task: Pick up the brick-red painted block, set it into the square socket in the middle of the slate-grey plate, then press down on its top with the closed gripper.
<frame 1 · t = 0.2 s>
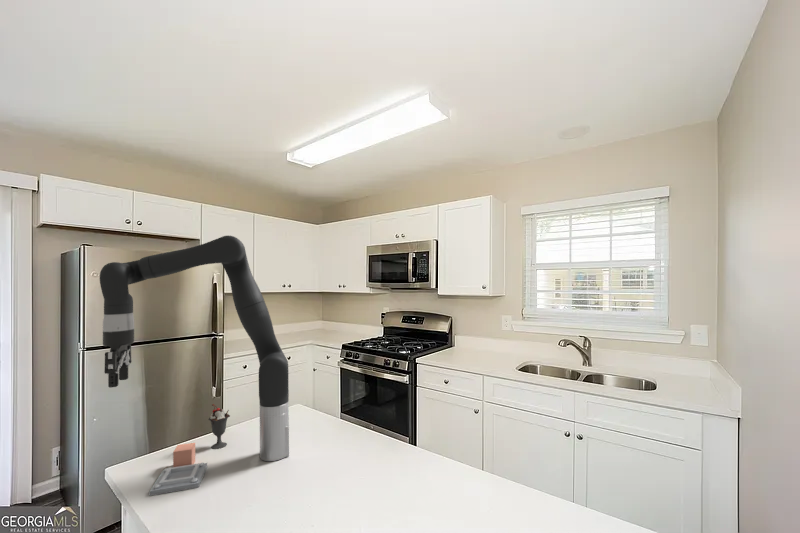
hand: (118, 383, 109), 28 cm above the worktop, tool pointing down, fingers open, 8 cm apart
block: (184, 466, 115), on the worktop
plate: (180, 480, 107), on the worktop
sundae: (218, 446, 129), on the worktop
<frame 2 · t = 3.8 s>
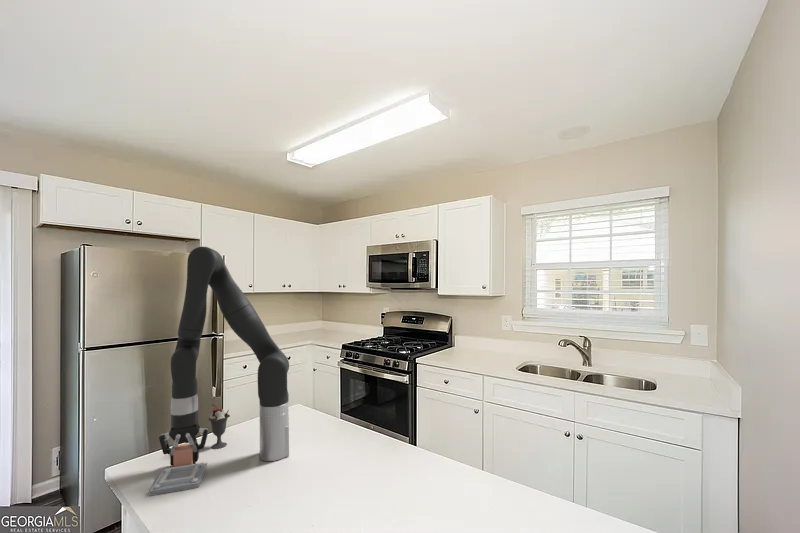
hand: (184, 464, 115), 1 cm above the worktop, tool pointing down, fingers closed on block, 5 cm apart
block: (184, 466, 115), on the worktop, touching gripper
everything else where it was.
when the fingers open (2 cm above the worktop, at t = 8.2 s): block stays where it is, resting on plate.
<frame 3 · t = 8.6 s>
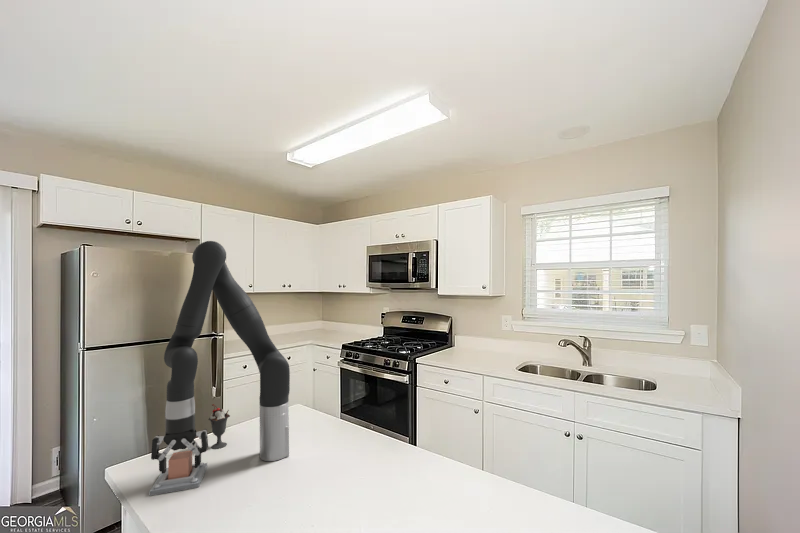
hand: (180, 469, 107), 3 cm above the worktop, tool pointing down, fingers open, 8 cm apart
block: (180, 475, 107), point 1 cm above the worktop, touching plate
everything else where it was.
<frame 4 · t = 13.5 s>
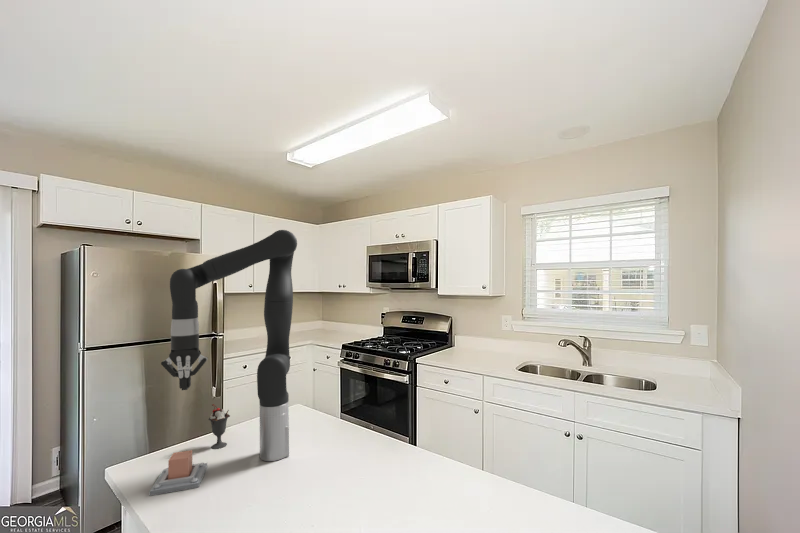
hand: (185, 389, 113), 25 cm above the worktop, tool pointing down, fingers closed
nothing on the worktop moved.
at the end: block 0.1 cm off-centre on the plate, point 1.2 cm above the plate's base; block tilted 0°; the gripper is holding nothing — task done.
